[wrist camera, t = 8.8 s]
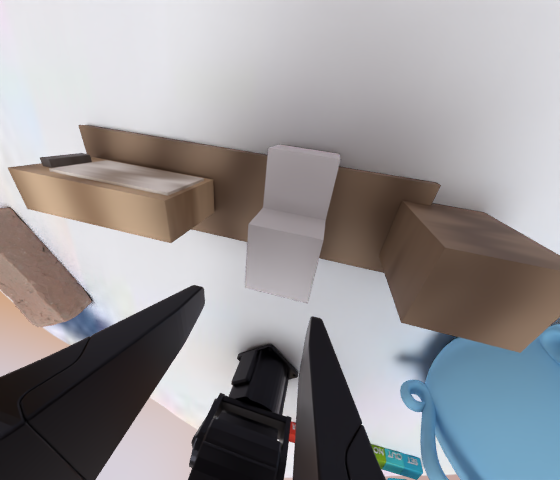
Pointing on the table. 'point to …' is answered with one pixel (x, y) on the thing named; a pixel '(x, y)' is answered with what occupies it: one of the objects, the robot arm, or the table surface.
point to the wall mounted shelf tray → (116, 195)
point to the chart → (387, 459)
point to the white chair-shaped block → (290, 221)
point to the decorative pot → (492, 410)
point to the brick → (36, 276)
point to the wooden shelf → (383, 239)
